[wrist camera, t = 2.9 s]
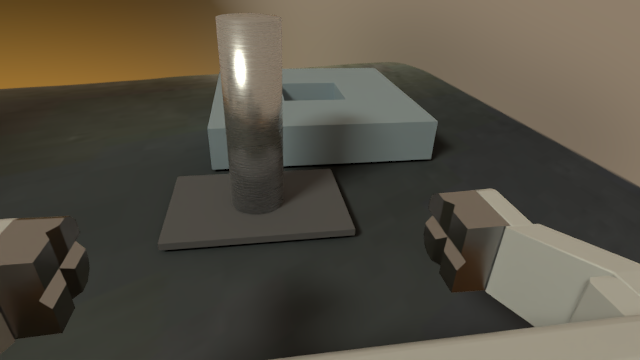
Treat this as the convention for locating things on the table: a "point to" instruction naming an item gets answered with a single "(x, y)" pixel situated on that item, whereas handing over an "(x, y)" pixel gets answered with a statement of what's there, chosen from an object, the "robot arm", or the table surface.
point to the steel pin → (253, 108)
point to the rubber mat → (240, 228)
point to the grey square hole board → (339, 120)
